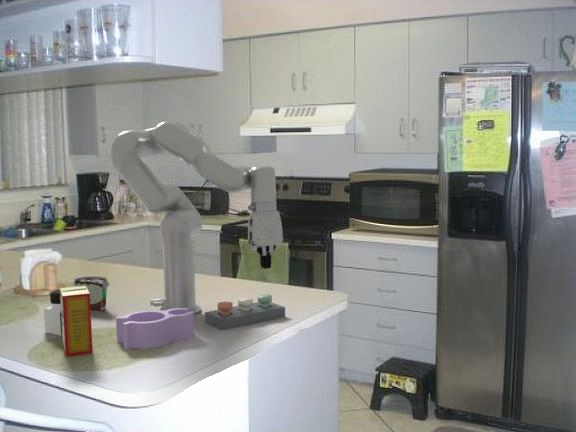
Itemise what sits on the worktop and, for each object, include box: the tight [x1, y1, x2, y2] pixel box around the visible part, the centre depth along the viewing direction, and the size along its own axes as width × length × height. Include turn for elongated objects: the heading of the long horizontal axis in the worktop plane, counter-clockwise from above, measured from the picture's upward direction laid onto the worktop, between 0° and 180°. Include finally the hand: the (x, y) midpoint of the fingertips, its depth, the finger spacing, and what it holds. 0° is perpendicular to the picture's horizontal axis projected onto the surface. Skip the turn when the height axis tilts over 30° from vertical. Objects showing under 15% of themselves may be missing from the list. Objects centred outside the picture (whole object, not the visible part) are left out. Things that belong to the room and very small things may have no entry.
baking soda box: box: [59, 286, 94, 358], centre depth 171 cm, size 10×6×16 cm
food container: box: [73, 275, 110, 314], centre depth 211 cm, size 12×6×10 cm, turn 65°
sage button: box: [257, 294, 273, 308], centre depth 202 cm, size 4×4×4 cm
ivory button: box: [237, 297, 254, 312], centre depth 198 cm, size 4×4×4 cm
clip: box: [115, 308, 195, 350], centre depth 179 cm, size 20×12×7 cm, turn 120°
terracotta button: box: [217, 301, 234, 316], centre depth 193 cm, size 4×4×4 cm
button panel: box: [204, 301, 286, 331], centre depth 198 cm, size 22×10×3 cm, turn 126°
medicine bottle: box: [43, 288, 62, 337], centre depth 187 cm, size 7×7×12 cm
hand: (266, 267), depth 200 cm, fingers closed
